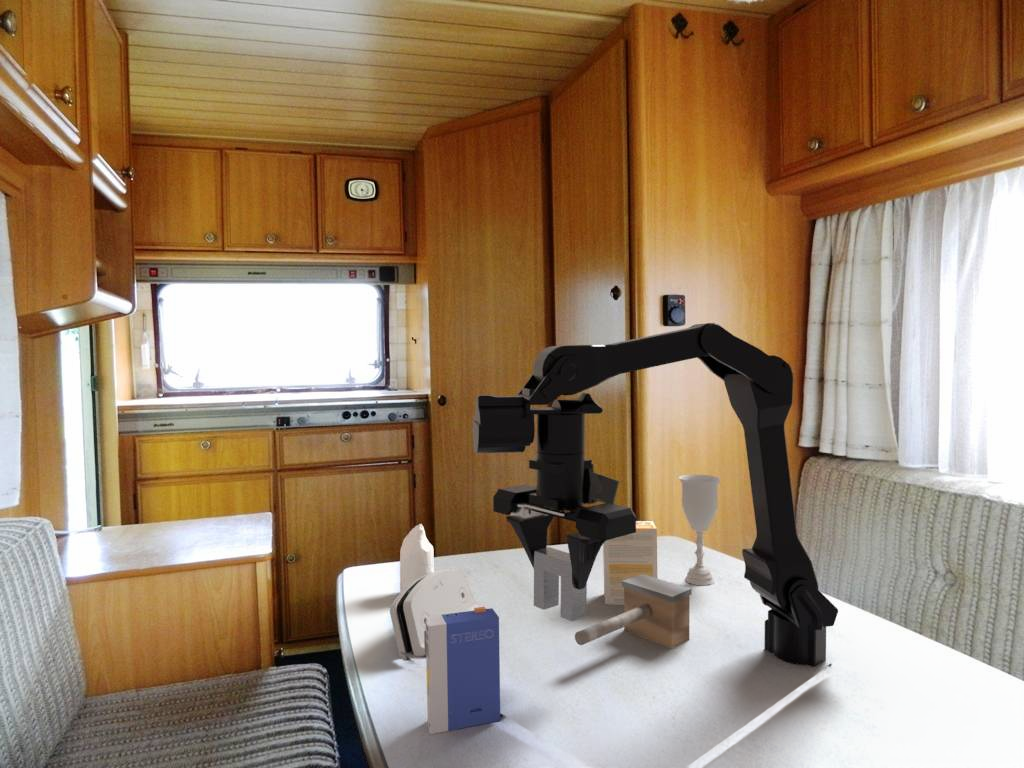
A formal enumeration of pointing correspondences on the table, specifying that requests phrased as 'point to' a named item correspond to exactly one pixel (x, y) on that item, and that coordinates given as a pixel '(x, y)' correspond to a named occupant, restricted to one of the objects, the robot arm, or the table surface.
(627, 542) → the supplement box
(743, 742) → the table surface
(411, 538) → the white tall chunk
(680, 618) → the wooden mallet
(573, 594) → the metal u-shaped block
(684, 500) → the chalice
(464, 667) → the walkman
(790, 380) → the robot arm
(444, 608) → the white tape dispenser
